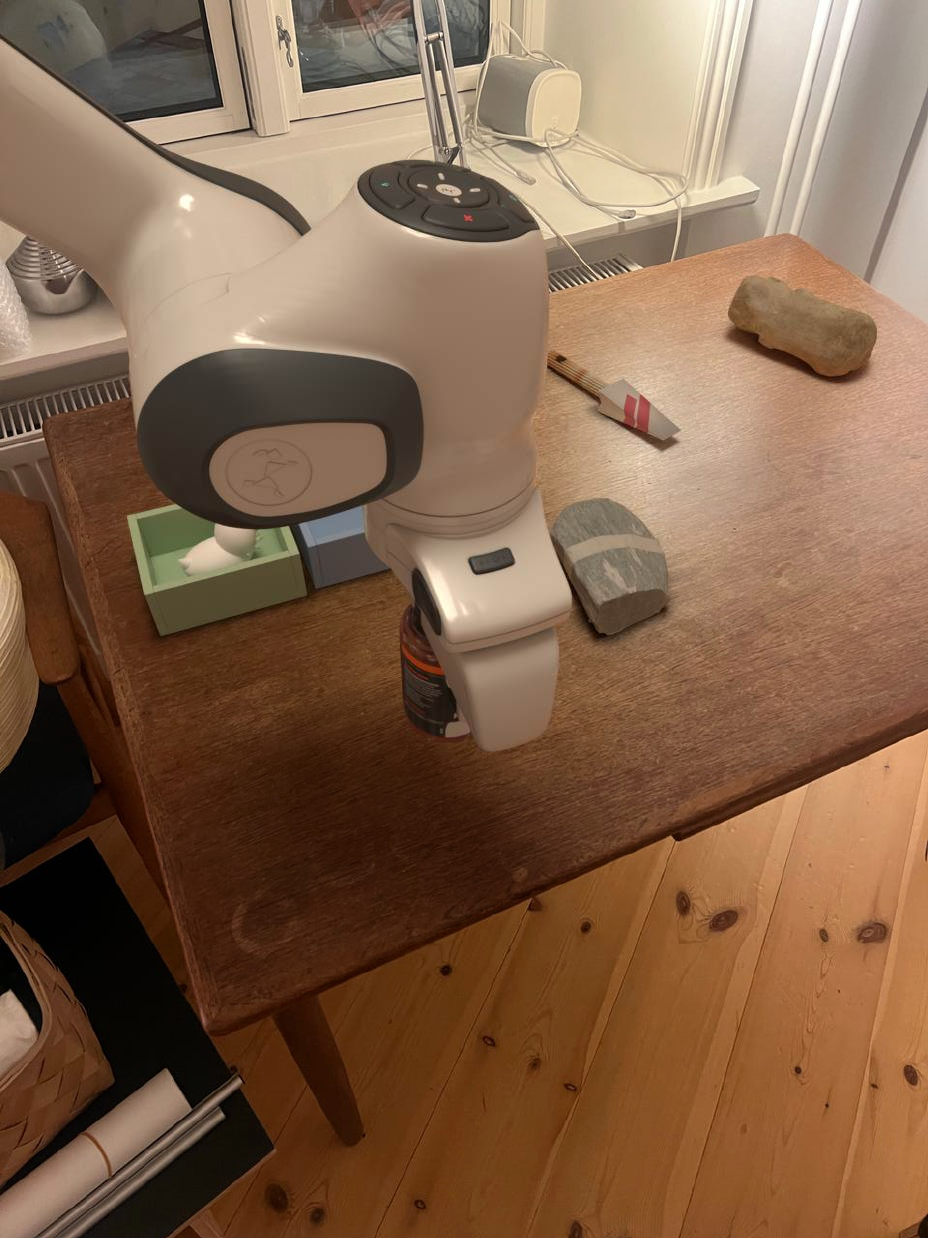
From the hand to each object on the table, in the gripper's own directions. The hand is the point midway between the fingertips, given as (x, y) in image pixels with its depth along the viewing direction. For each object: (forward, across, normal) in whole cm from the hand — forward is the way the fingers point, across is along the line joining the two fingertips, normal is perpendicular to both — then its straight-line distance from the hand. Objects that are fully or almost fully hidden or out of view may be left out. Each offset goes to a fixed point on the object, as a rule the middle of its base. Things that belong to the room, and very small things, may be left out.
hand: (447, 666), depth 58 cm
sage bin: (+18, -31, -11) cm, 38 cm away
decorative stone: (+18, -17, +22) cm, 33 cm away
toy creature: (+18, -31, -11) cm, 37 cm away
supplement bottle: (+5, 0, 0) cm, 5 cm away
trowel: (+18, -42, +35) cm, 58 cm away
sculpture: (+18, -43, +61) cm, 77 cm away
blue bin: (+18, -32, +2) cm, 37 cm away
